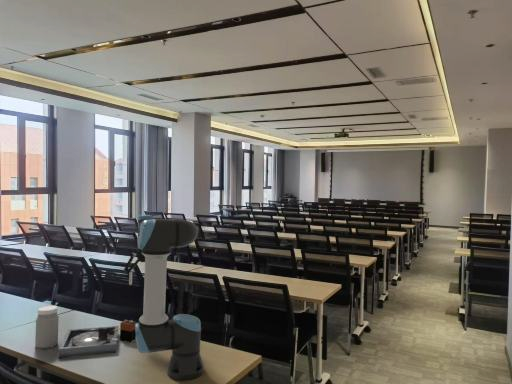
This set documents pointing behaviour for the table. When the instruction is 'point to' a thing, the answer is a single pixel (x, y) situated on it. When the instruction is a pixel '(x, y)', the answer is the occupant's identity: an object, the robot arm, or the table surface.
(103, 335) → the dial
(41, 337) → the jar
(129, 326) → the battery
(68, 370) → the table surface
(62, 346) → the housing
